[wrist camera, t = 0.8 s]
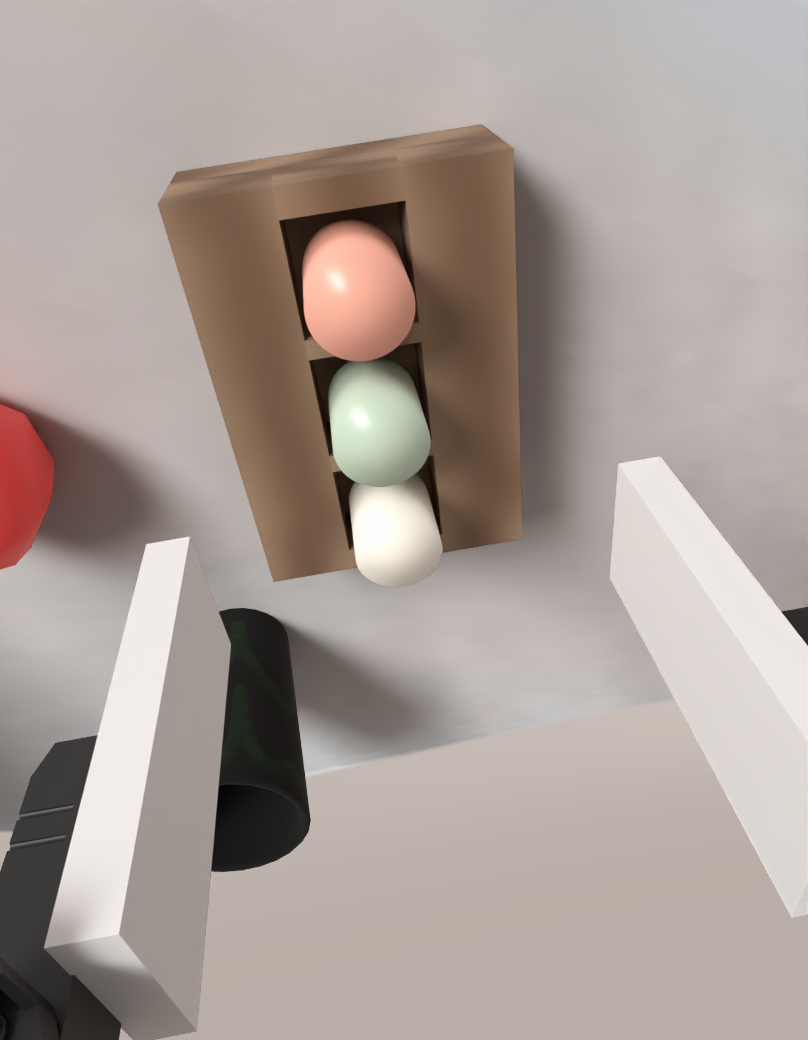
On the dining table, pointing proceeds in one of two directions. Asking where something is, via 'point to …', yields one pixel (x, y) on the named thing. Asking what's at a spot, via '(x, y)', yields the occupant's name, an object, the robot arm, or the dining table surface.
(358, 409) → the pale green rounded piece
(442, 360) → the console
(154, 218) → the dining table surface
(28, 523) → the apple
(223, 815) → the cup
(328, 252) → the coral button
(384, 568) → the white egg
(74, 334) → the dining table surface
